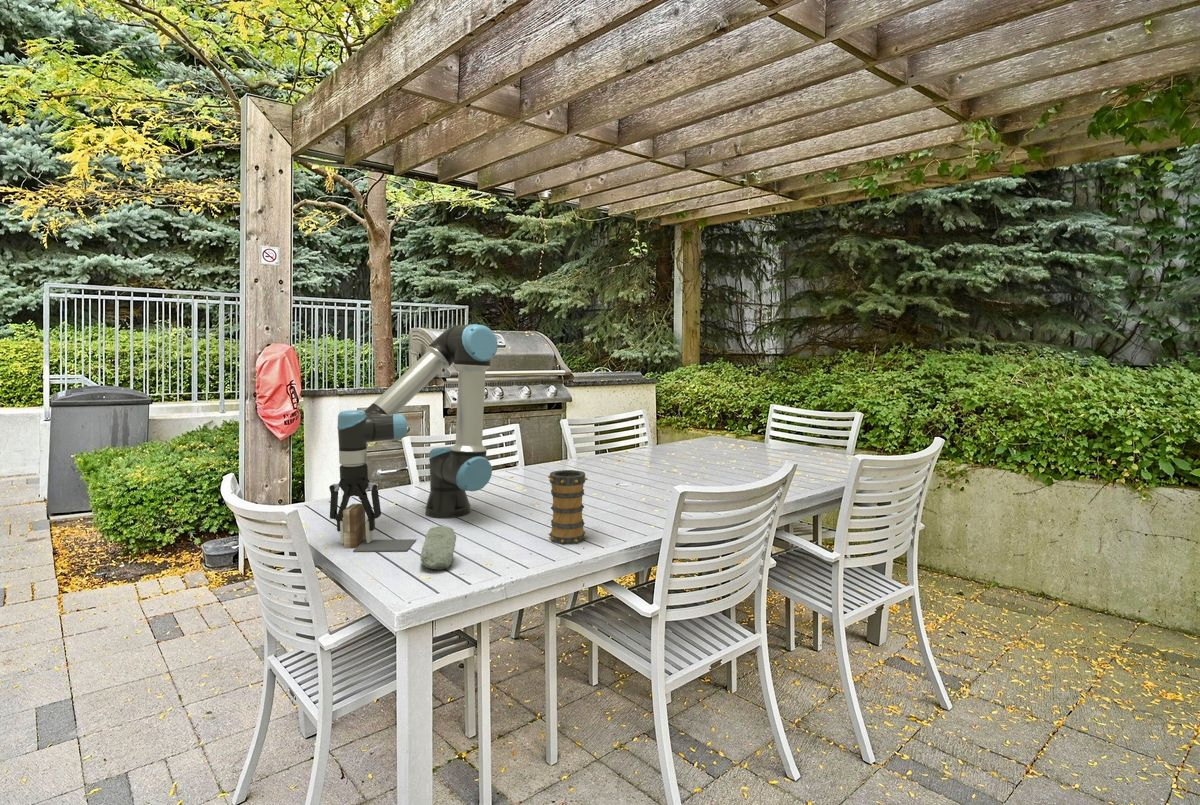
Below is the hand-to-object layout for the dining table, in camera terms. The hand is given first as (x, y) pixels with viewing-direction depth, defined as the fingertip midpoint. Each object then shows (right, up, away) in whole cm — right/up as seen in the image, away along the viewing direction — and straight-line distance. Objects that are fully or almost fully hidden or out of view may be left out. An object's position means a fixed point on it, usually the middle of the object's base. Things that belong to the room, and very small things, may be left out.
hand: (356, 541), depth 182 cm
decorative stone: (+28, -3, -17) cm, 33 cm away
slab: (0, -1, 0) cm, 1 cm away
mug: (+62, 0, +8) cm, 62 cm away
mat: (+9, -1, -2) cm, 9 cm away
